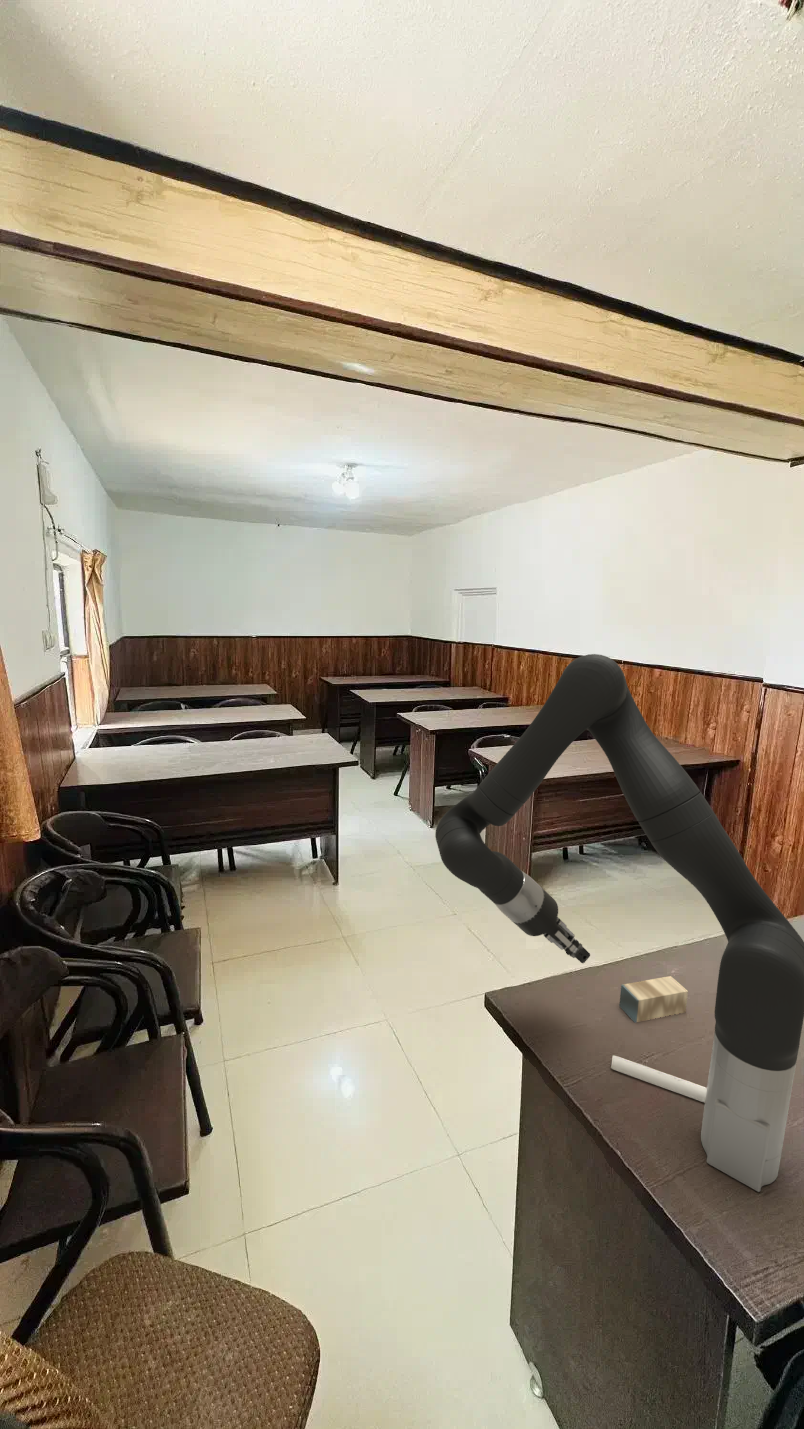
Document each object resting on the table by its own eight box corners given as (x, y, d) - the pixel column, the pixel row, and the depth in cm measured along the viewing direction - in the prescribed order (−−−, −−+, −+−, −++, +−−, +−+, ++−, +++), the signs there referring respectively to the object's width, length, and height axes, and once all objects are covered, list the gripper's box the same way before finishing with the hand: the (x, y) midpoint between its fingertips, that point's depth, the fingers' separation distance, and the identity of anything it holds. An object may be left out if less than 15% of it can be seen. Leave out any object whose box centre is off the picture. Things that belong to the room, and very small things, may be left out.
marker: (738, 1108, 84) (740, 1094, 83) (739, 1118, 82) (741, 1105, 82) (612, 1063, 92) (613, 1050, 91) (610, 1071, 90) (611, 1059, 90)
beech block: (636, 1000, 100) (688, 991, 103) (621, 984, 104) (670, 976, 107) (634, 1022, 101) (685, 1012, 103) (619, 1006, 105) (668, 996, 108)
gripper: (559, 903, 86) (622, 963, 92) (520, 868, 99) (577, 921, 104) (527, 940, 86) (592, 997, 91) (492, 899, 99) (551, 952, 104)
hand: (584, 957), depth 98 cm, fingers closed
